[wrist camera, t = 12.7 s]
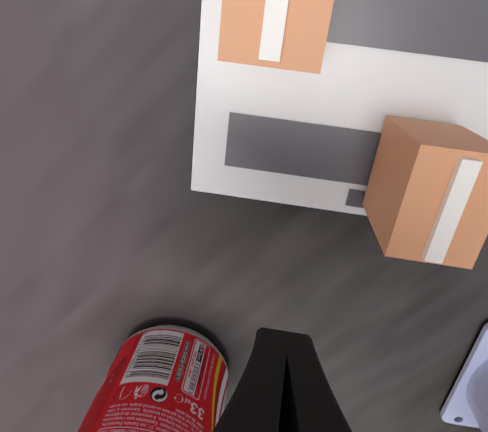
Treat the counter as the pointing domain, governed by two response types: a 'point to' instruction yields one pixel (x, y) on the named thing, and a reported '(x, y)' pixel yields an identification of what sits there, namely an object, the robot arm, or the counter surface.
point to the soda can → (161, 385)
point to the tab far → (429, 192)
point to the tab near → (275, 33)
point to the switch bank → (336, 100)
